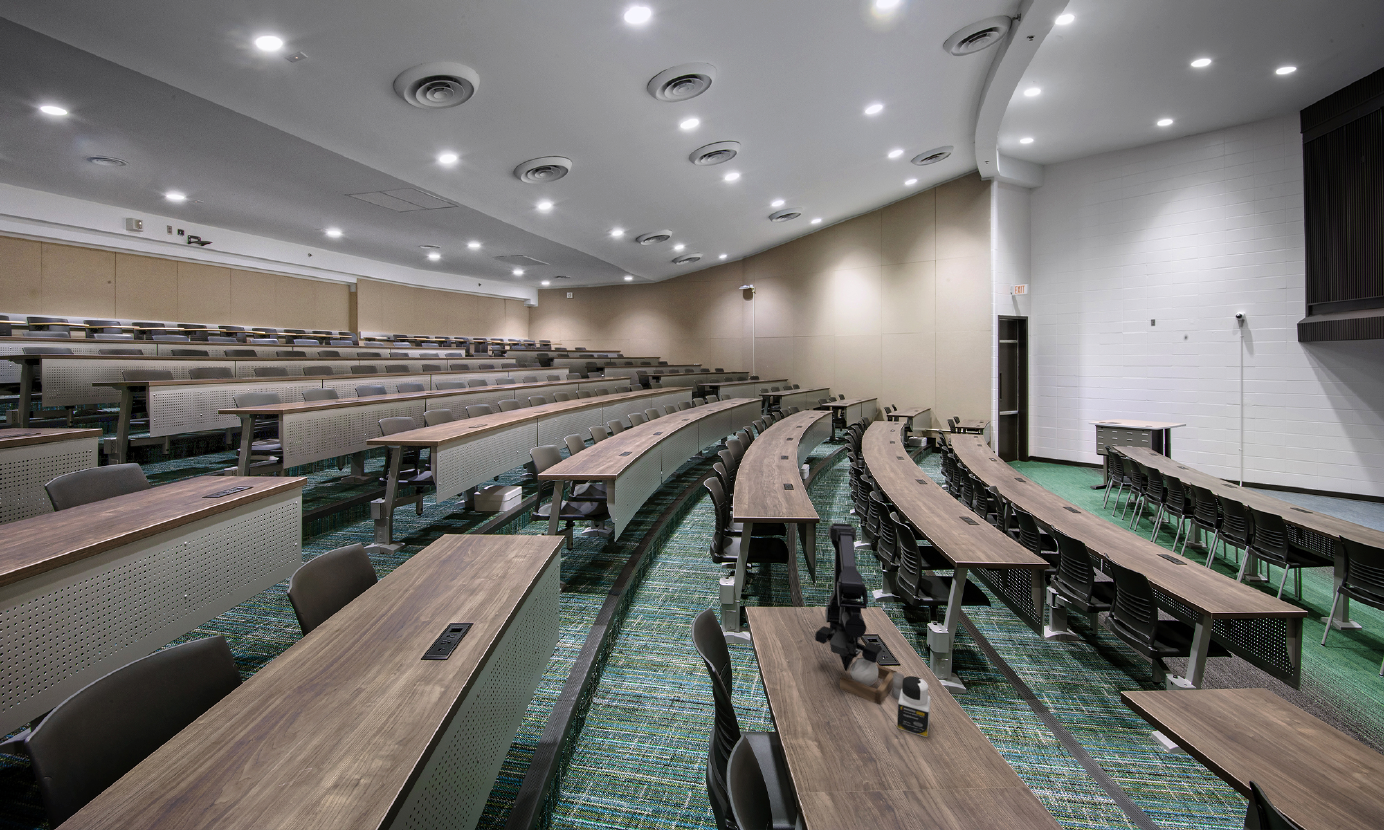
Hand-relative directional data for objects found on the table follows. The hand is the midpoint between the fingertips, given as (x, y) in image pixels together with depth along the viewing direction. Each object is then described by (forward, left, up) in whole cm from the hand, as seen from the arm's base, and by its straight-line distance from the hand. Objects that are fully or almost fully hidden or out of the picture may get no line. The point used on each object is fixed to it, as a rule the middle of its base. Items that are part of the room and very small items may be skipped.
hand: (846, 670), depth 156 cm
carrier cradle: (0, +9, -2) cm, 9 cm away
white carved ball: (0, +5, -2) cm, 6 cm away
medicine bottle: (+10, +22, -2) cm, 24 cm away
